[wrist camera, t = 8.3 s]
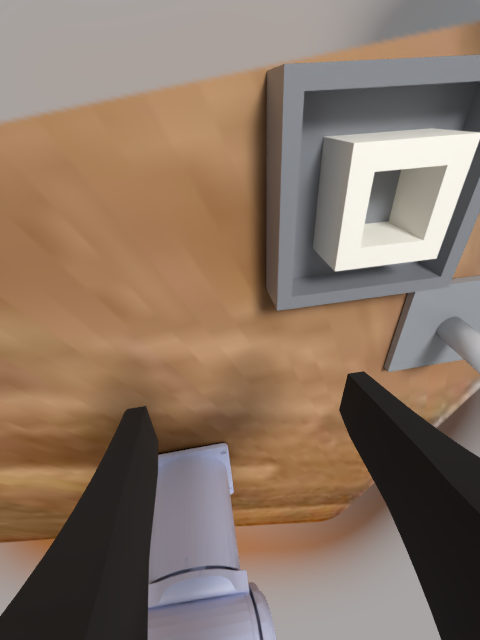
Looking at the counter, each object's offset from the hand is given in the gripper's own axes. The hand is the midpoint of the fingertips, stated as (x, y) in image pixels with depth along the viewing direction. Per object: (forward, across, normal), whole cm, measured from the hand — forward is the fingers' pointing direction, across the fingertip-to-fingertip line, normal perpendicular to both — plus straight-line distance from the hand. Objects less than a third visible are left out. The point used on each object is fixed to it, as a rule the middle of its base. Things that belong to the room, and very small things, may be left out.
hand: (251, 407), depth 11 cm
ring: (+9, -8, -5) cm, 13 cm away
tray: (+9, -8, -5) cm, 13 cm away
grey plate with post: (+9, -17, +6) cm, 20 cm away
